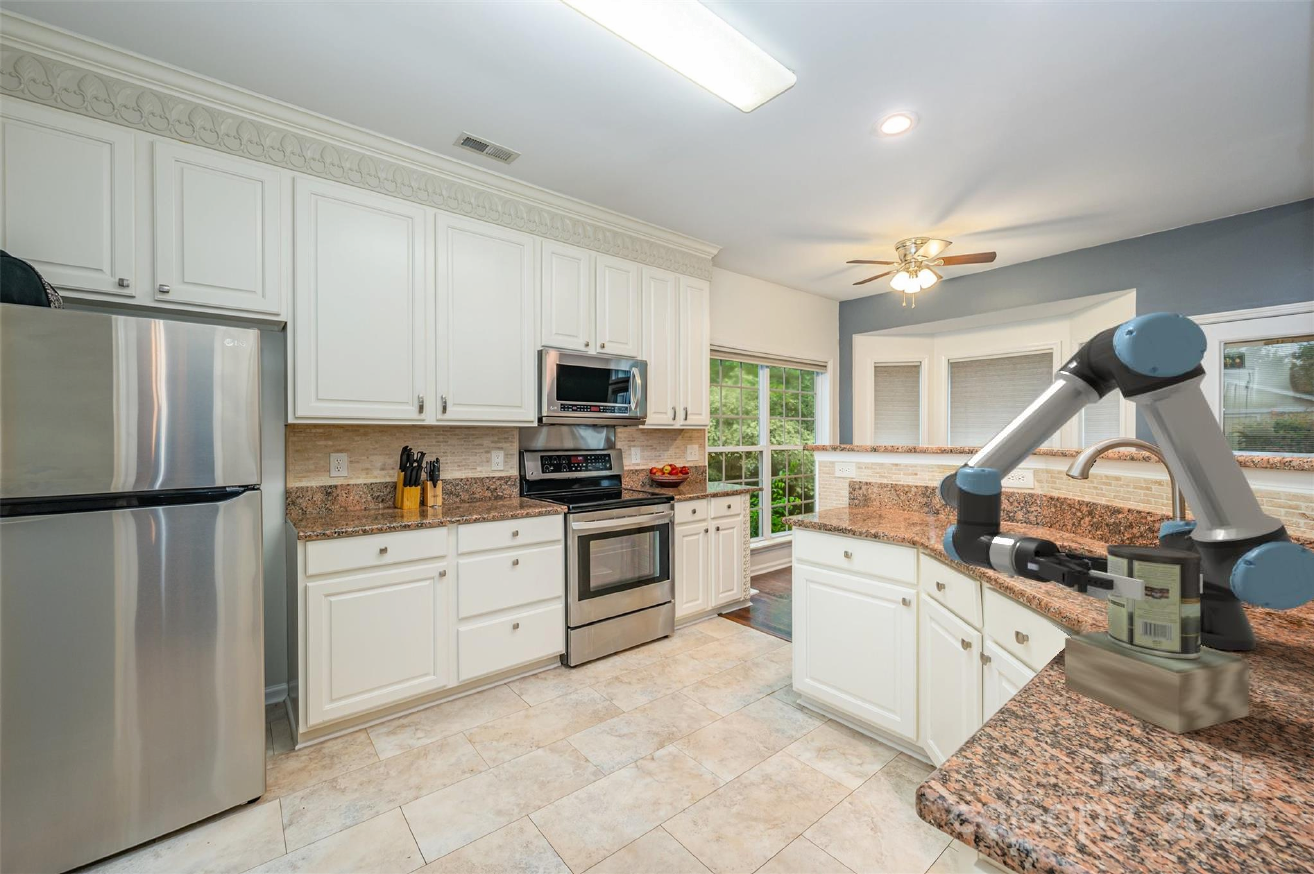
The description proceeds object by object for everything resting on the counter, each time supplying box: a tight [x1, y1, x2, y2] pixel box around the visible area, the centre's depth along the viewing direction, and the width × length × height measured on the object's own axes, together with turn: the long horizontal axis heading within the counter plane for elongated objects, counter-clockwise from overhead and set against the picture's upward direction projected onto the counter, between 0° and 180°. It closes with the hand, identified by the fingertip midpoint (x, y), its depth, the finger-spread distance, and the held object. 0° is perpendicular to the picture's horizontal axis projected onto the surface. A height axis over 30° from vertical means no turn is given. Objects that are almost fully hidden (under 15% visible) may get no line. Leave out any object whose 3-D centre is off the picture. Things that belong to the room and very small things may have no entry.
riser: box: [1064, 630, 1250, 735], centre depth 79 cm, size 16×14×8 cm
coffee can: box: [1106, 543, 1201, 659], centre depth 79 cm, size 10×10×14 cm
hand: (1173, 587), depth 77 cm, fingers open, 13 cm apart
